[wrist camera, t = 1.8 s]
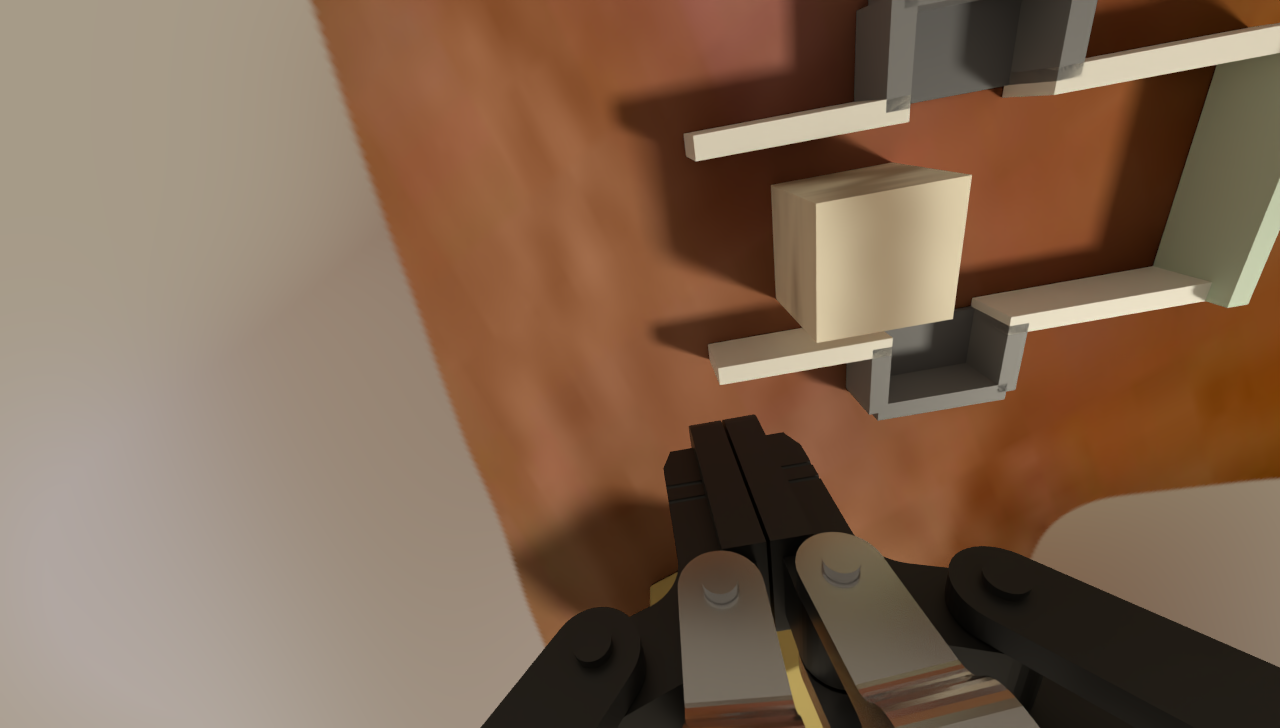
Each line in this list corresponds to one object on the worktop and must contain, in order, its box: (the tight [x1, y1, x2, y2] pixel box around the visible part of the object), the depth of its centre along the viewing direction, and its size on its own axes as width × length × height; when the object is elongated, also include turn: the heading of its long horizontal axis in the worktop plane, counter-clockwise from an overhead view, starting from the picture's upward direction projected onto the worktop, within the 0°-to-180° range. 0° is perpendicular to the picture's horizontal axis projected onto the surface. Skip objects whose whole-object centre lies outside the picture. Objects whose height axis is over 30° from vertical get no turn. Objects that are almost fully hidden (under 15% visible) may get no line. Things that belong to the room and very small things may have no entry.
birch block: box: [771, 163, 972, 343], centre depth 23 cm, size 6×6×6 cm
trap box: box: [683, 0, 1280, 420], centre depth 23 cm, size 26×20×4 cm
